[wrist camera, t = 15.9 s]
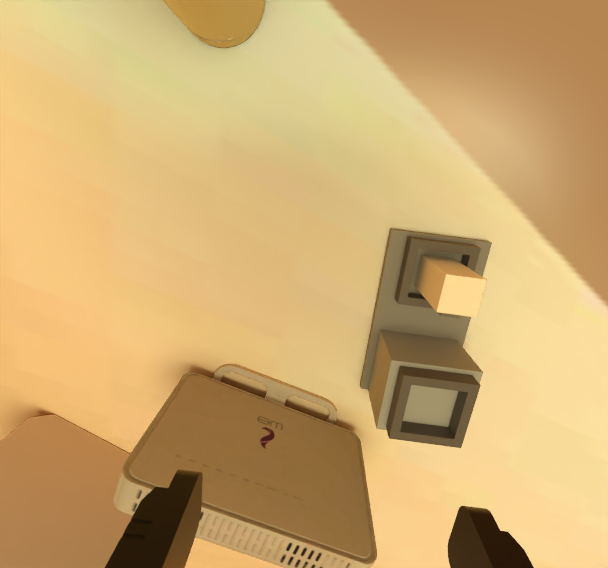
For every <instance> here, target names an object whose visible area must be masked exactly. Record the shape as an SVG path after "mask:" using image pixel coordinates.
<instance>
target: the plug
mask: <svg viewBox="0 0 608 568" xmlns="http://www.w3.org/2000/svg"><path fill="white" fill-rule="evenodd" d="M486 281H487V280H486V279H485V278H483V277H482V276H480V275H479V274H477V273H476V272H474V271H472V270H471V269H469V268H468V267H466V266H465V265H463V264H461V263H460V262H458V261H457V260H455V259H451V258H444V257H436V256H429V255H421V259H420V263H419V268H418V272H417V277H416V281H415V285H414V286H415V287H416V288H417V289H418V291H419V292H420V293H421V294H422V295H423V297H424V298H425V299H426V300H427V301H428V303H429V304H430V305H431V306H432V307H433V308H434V310H435V311H436V312H438V314H439V315H440V316H445V317H452V318H460V315H461V316H469V317H476V315H477V312H478V309H479V305H480V302H481V298H482V295H483V291H484V288H485V284H486Z"/></svg>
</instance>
